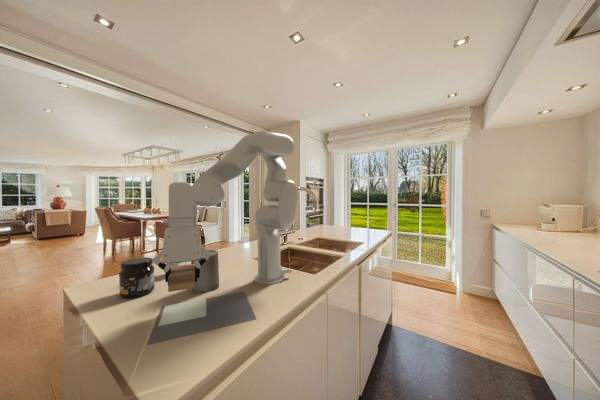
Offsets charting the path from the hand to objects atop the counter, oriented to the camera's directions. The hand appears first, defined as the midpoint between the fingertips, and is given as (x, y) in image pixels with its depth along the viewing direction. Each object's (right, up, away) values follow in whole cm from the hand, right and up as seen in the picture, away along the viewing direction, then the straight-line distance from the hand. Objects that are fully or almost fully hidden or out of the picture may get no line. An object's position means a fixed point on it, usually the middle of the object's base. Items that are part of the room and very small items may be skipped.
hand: (183, 281), depth 67 cm
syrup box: (-21, -9, +34) cm, 42 cm away
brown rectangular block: (0, 0, 0) cm, 0 cm away
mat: (+7, -10, 0) cm, 12 cm away
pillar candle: (-1, -10, +18) cm, 21 cm away
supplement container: (-25, -10, +14) cm, 30 cm away
